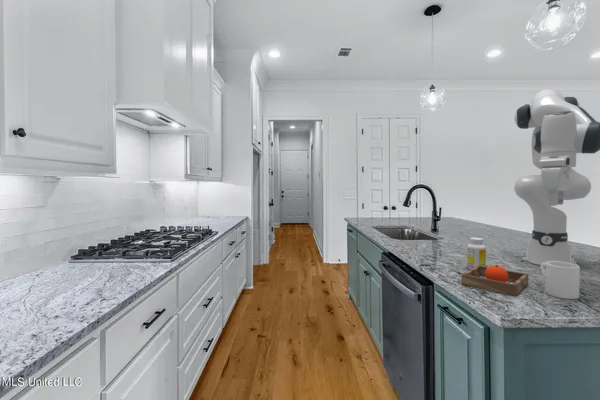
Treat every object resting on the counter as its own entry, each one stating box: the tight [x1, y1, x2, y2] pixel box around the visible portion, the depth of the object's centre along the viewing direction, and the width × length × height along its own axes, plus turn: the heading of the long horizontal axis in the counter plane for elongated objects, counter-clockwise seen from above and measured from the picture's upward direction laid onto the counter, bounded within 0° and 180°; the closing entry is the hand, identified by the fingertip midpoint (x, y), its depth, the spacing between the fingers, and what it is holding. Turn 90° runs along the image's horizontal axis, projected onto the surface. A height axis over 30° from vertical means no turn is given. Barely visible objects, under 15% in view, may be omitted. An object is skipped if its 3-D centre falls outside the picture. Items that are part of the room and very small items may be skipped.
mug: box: [539, 261, 581, 300], centre depth 97 cm, size 8×12×10 cm
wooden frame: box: [461, 266, 529, 297], centre depth 106 cm, size 17×16×4 cm
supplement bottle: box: [466, 237, 487, 270], centre depth 125 cm, size 7×7×13 cm
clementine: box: [484, 264, 508, 283], centre depth 106 cm, size 8×7×7 cm
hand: (556, 205), depth 97 cm, fingers open, 8 cm apart
